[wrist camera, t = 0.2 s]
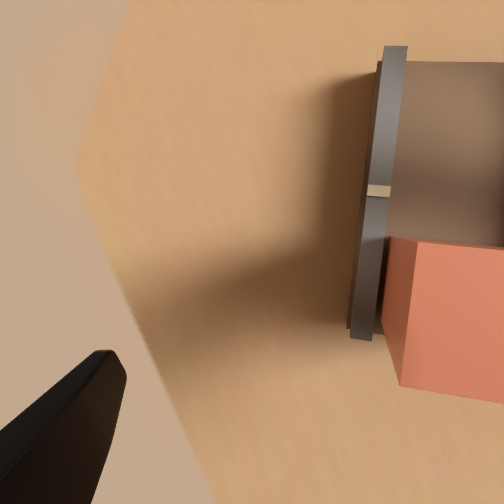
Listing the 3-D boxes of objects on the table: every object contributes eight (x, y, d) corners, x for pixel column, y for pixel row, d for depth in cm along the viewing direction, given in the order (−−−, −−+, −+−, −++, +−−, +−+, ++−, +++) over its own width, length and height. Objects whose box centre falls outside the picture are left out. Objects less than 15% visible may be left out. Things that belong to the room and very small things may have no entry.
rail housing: (528, 349, 22) (560, 371, 18) (346, 322, 24) (345, 338, 20) (569, 75, 21) (611, 45, 17) (376, 71, 23) (380, 44, 19)
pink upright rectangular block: (511, 333, 20) (654, 430, 11) (378, 315, 22) (399, 385, 12) (523, 249, 20) (683, 268, 10) (388, 235, 21) (417, 241, 12)
